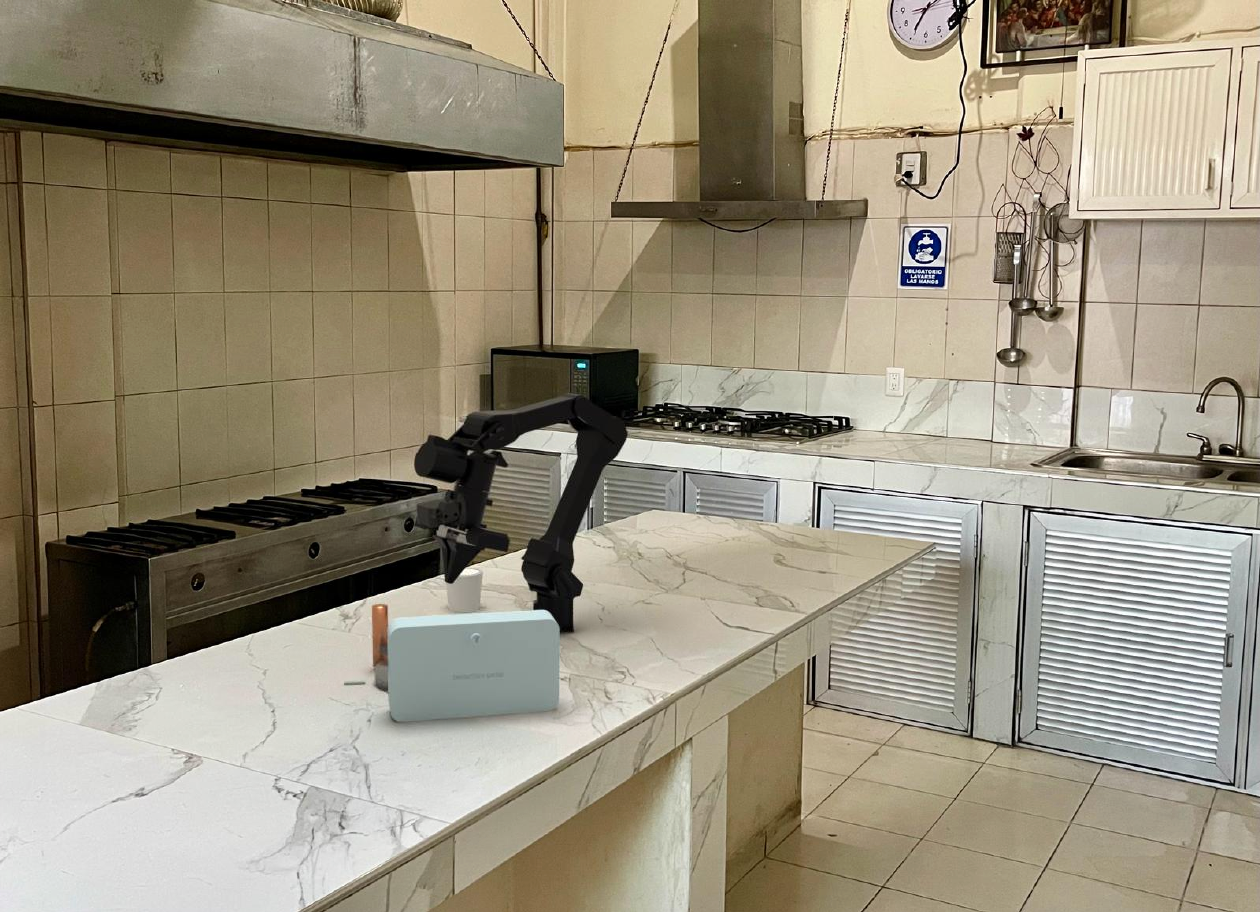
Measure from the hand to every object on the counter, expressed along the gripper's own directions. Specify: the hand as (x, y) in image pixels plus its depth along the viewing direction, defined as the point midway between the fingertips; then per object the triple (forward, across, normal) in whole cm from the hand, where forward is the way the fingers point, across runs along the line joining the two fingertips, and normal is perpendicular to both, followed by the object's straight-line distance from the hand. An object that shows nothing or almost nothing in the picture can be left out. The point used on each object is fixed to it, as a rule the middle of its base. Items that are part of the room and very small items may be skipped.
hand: (448, 583), depth 194 cm
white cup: (+7, -20, +20) cm, 29 cm away
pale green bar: (+16, +4, -16) cm, 23 cm away
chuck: (+14, +9, -9) cm, 19 cm away
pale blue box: (+14, +25, -9) cm, 30 cm away
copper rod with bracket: (+14, +3, -9) cm, 17 cm away
